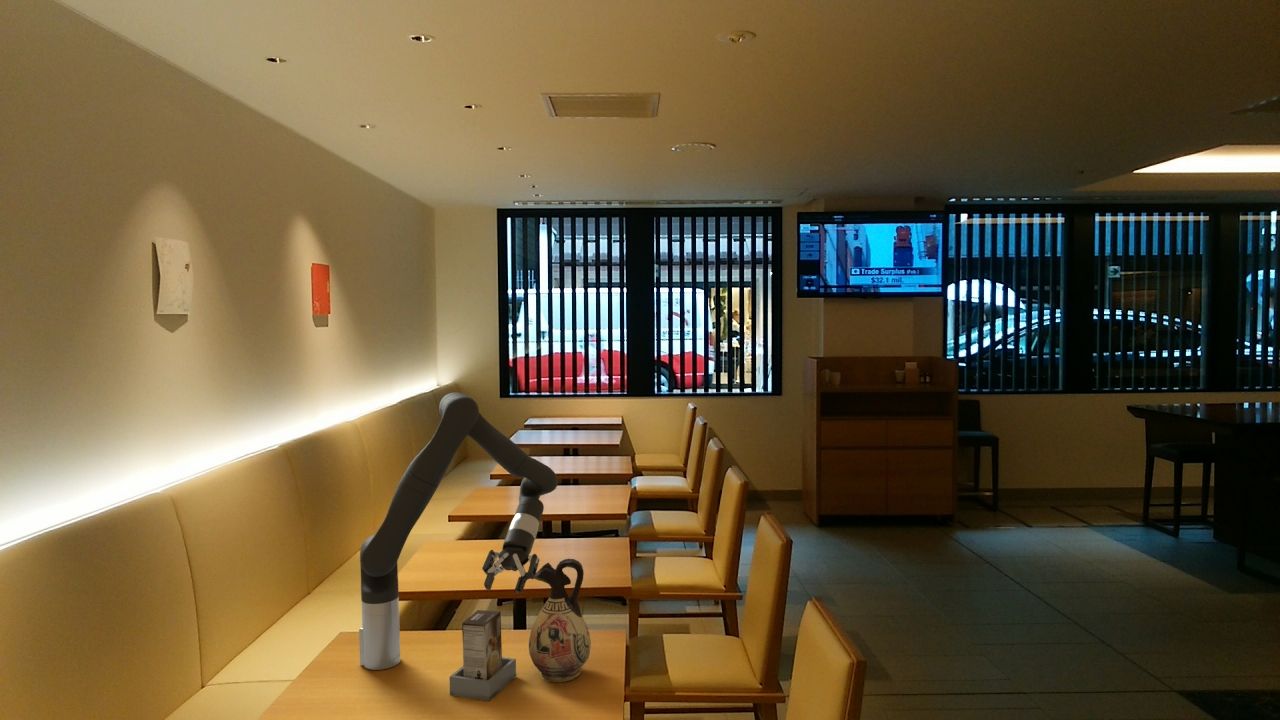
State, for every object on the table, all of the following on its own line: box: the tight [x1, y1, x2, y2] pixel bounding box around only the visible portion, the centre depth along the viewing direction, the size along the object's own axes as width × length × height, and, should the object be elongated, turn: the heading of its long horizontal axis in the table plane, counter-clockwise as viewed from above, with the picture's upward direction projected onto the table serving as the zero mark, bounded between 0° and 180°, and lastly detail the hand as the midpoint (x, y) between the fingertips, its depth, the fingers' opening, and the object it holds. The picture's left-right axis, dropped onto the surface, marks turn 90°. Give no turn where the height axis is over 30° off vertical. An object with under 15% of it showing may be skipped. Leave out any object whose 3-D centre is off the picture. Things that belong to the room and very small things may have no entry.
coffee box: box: [461, 609, 503, 680], centre depth 199 cm, size 9×6×16 cm
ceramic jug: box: [528, 558, 592, 683], centre depth 204 cm, size 17×15×30 cm
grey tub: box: [449, 656, 517, 702], centre depth 199 cm, size 11×14×4 cm
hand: (502, 590), depth 208 cm, fingers open, 8 cm apart
